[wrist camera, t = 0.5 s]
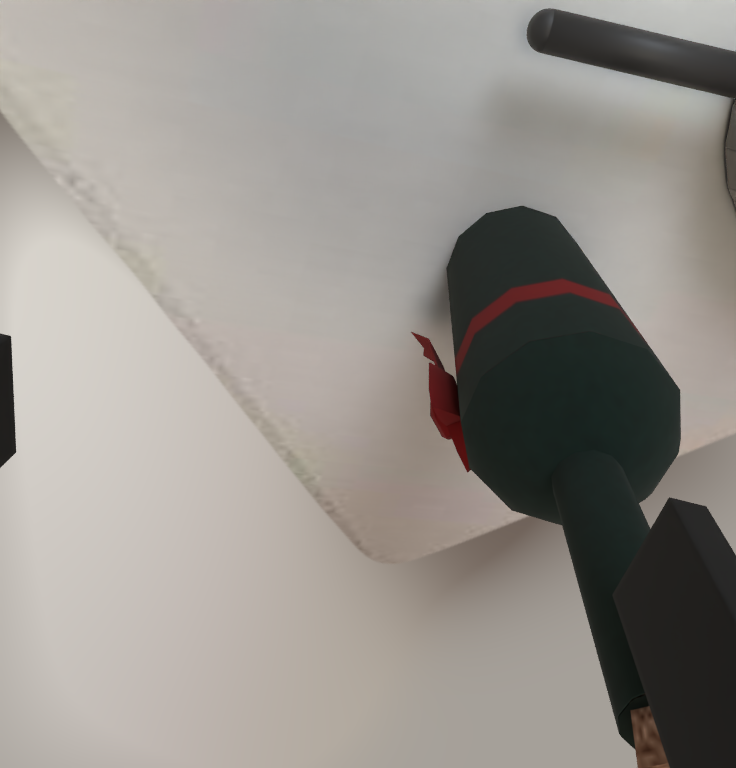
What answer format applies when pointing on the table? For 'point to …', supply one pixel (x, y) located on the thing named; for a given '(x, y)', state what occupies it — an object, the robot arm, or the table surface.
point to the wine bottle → (560, 416)
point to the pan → (731, 154)
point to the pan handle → (633, 51)
